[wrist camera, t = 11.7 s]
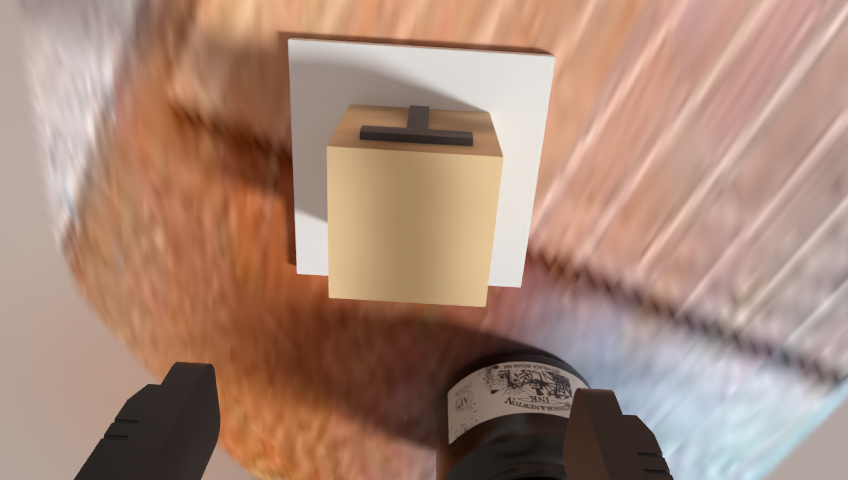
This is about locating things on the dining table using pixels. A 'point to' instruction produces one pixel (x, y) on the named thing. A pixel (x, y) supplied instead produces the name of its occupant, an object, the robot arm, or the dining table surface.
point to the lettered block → (412, 205)
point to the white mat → (401, 87)
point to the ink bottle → (506, 419)
